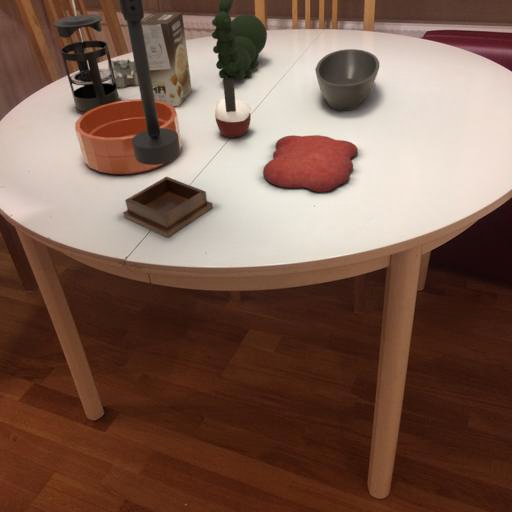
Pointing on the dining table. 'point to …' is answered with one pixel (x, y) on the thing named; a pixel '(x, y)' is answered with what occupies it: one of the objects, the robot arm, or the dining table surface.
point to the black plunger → (149, 109)
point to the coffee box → (167, 56)
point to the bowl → (346, 77)
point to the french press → (87, 64)
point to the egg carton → (124, 73)
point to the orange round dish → (119, 135)
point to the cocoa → (232, 112)
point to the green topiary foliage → (237, 42)
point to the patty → (310, 162)
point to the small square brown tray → (167, 206)
